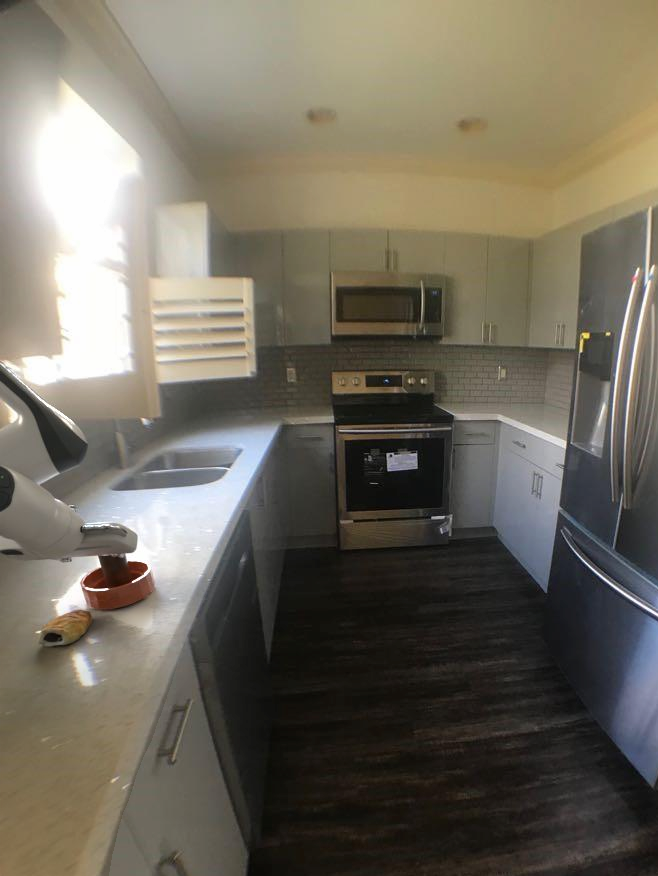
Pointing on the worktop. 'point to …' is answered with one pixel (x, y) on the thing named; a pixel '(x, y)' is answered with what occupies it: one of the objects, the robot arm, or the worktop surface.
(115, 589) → the bowl
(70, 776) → the worktop surface
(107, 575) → the pepper mill
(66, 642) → the pastry
